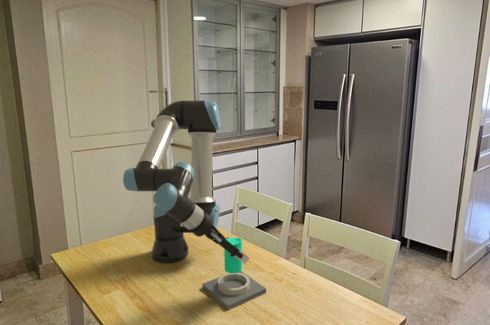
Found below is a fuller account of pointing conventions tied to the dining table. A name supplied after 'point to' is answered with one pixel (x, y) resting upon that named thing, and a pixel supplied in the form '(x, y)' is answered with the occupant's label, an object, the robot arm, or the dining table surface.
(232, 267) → the candle
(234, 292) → the candle stand
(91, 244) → the dining table surface
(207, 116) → the robot arm
